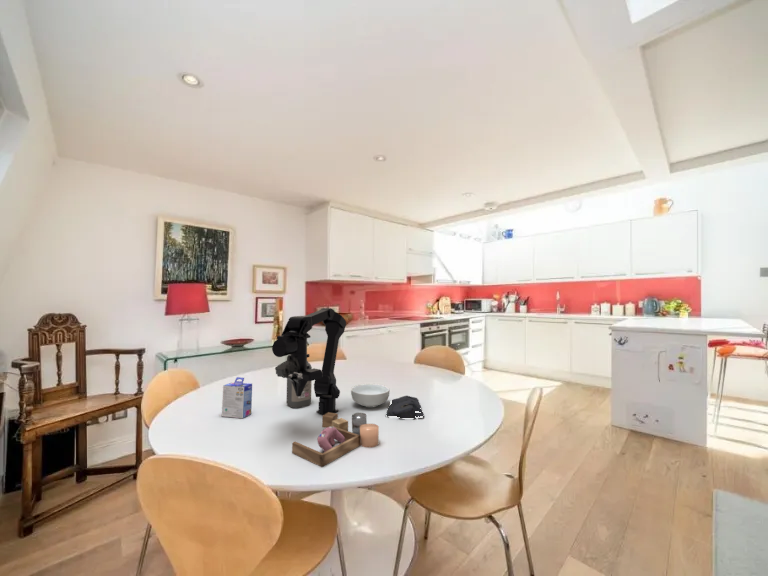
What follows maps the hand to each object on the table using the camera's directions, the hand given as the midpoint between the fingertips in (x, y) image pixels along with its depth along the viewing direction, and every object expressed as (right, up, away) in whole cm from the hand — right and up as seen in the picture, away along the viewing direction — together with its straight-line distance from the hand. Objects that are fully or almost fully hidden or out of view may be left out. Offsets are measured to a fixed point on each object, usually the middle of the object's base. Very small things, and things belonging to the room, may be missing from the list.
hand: (298, 396), depth 109 cm
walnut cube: (+11, -12, +3) cm, 16 cm away
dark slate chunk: (+39, -14, +20) cm, 46 cm away
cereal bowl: (+24, -13, +26) cm, 38 cm away
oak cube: (+15, -12, -3) cm, 19 cm away
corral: (+13, -11, -15) cm, 22 cm away
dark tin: (+22, -11, -3) cm, 25 cm away
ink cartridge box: (-28, -12, +13) cm, 33 cm away
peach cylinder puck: (+25, -11, -11) cm, 30 cm away
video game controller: (+14, -11, -14) cm, 23 cm away
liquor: (-7, -13, +26) cm, 30 cm away
